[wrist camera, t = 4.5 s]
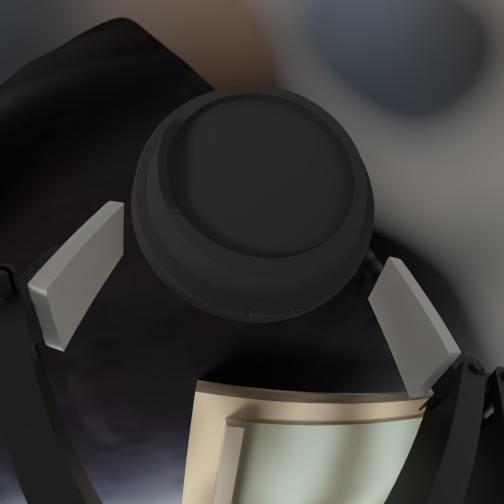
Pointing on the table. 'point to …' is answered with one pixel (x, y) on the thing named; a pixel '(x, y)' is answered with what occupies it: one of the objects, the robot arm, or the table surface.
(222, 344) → the table surface
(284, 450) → the tray
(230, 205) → the coffee cup
